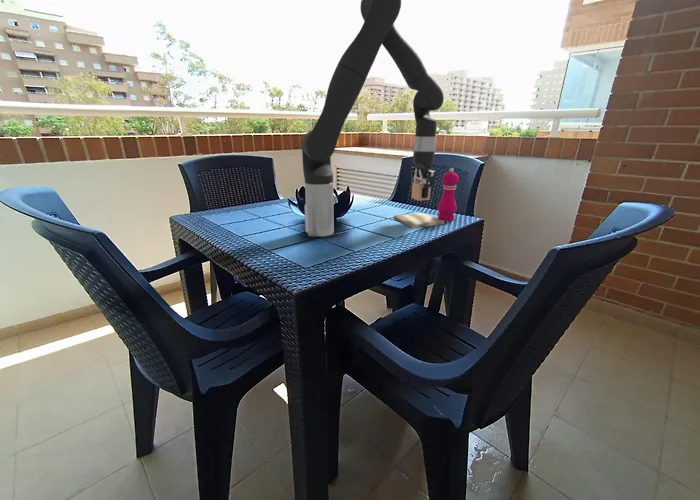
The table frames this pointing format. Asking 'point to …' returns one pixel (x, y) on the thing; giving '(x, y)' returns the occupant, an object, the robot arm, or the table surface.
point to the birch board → (418, 220)
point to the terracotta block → (419, 191)
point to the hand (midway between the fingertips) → (420, 196)
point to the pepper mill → (448, 196)
